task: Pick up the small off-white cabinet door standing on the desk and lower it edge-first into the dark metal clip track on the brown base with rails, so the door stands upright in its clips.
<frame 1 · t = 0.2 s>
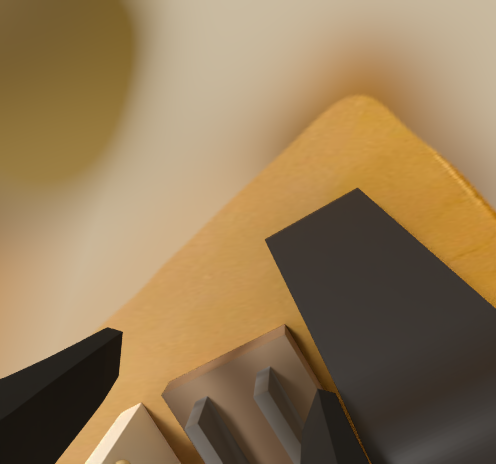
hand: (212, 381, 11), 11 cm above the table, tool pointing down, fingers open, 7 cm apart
cabinet door: (155, 443, 24), on the table
brown base with rails: (266, 421, 23), on the table
phone stand: (338, 270, 19), point 1 cm above the table
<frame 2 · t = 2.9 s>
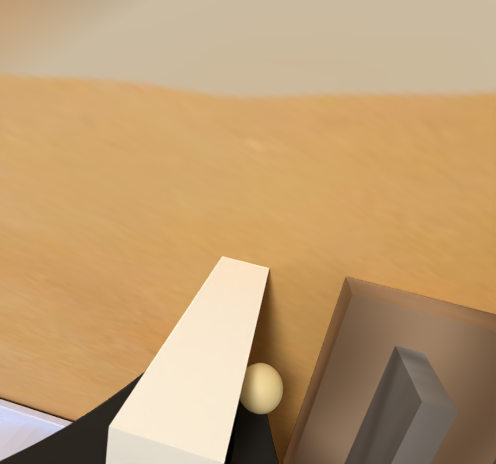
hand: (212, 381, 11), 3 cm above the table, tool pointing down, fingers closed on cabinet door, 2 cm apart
cabinet door: (229, 332, 14), on the table, touching gripper
brown base with rails: (418, 426, 13), on the table
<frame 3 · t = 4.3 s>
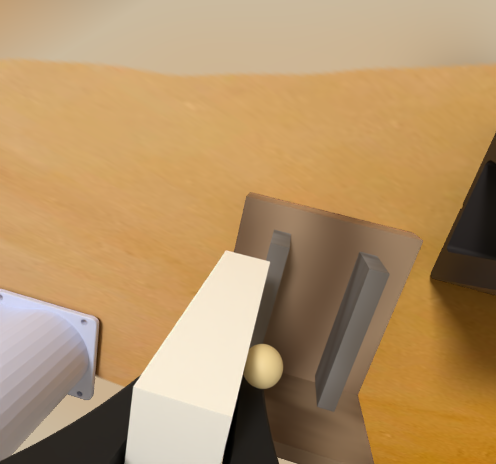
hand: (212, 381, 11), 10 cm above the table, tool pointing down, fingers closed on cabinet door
cabinet door: (233, 323, 15), point 6 cm above the table, touching gripper
brown base with rails: (303, 297, 20), on the table
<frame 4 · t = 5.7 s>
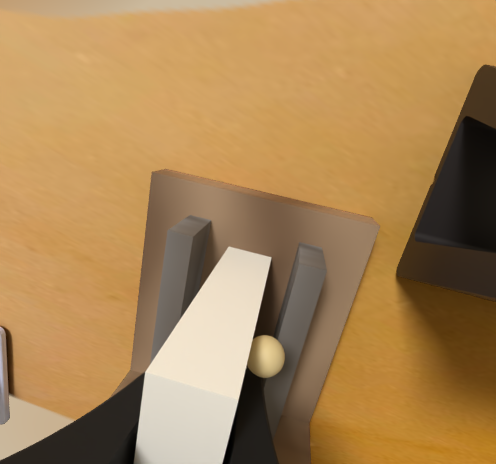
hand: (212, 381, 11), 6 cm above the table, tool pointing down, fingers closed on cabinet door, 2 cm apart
cabinet door: (235, 317, 15), point 1 cm above the table, touching brown base with rails, gripper
brown base with rails: (240, 301, 16), on the table
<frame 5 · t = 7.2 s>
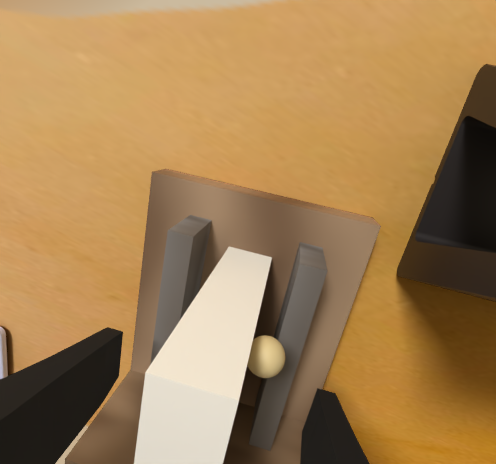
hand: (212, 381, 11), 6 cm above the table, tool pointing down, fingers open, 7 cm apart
cabinet door: (235, 317, 15), point 1 cm above the table, touching brown base with rails
brown base with rails: (241, 301, 16), on the table
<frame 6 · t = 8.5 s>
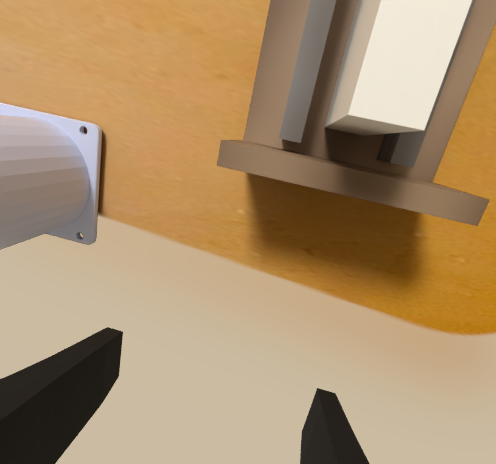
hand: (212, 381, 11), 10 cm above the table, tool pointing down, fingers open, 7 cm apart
cabinet door: (365, 55, 15), point 1 cm above the table, touching brown base with rails
brown base with rails: (359, 63, 16), on the table
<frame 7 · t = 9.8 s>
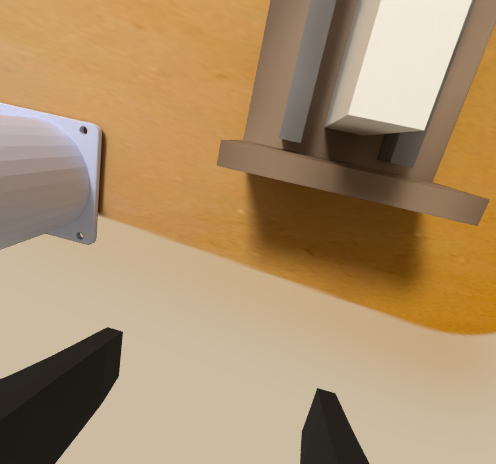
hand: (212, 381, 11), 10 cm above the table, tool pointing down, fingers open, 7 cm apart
cabinet door: (365, 55, 15), point 1 cm above the table, touching brown base with rails
brown base with rails: (359, 63, 16), on the table
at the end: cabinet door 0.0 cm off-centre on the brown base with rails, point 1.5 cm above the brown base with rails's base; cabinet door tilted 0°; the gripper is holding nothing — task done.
